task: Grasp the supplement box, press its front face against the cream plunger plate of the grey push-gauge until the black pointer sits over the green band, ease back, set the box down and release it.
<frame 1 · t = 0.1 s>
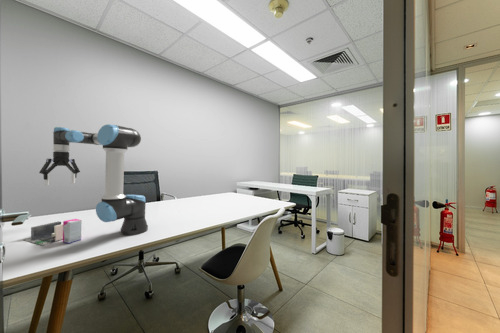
hand: (60, 183, 128), 28 cm above the table, fingers open, 13 cm apart
supplement box: (72, 241, 107), on the table
plunger: (54, 231, 108), point 5 cm above the table, slide at 0.0 cm
gauge base: (59, 237, 111), on the table
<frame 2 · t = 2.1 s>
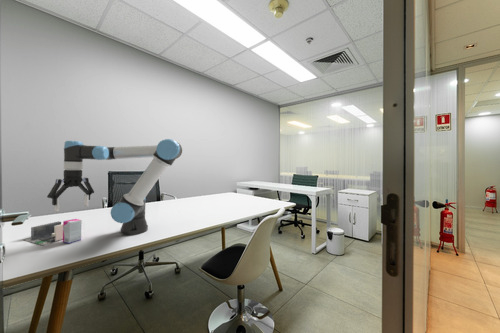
hand: (72, 208, 107), 18 cm above the table, fingers open, 13 cm apart
nothing on the table moved.
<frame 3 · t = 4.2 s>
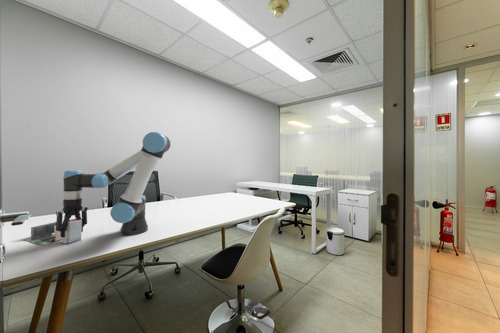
hand: (72, 240, 107), 0 cm above the table, fingers closed on supplement box, 6 cm apart
supplement box: (72, 241, 107), on the table, touching gripper
everything else where it was.
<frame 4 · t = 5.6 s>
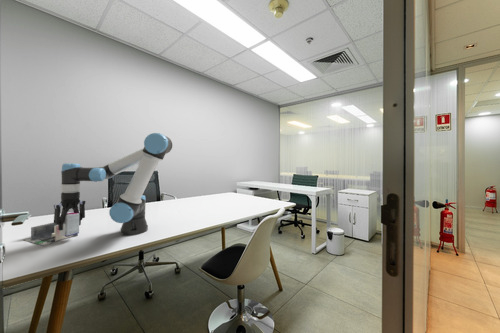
hand: (69, 233, 107), 4 cm above the table, fingers closed on supplement box, 6 cm apart
supplement box: (70, 234, 108), point 3 cm above the table, touching gripper
everything else where it was.
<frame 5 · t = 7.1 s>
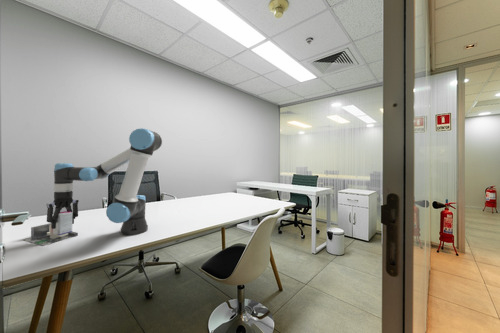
hand: (63, 232, 109), 4 cm above the table, fingers closed on supplement box, 6 cm apart
supplement box: (63, 233, 110), point 3 cm above the table, touching gripper
plunger: (49, 230, 109), point 5 cm above the table, slide at 4.4 cm
when the fingers open (2 cm above the table, at t = 9.1 s): supplement box drops 1 cm, on the table.
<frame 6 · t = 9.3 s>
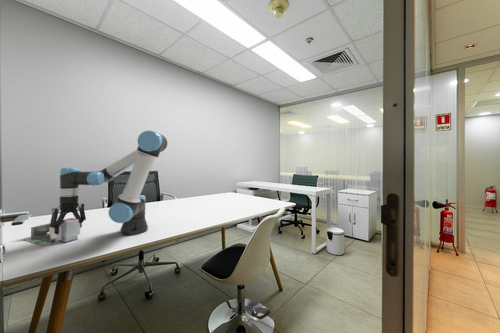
hand: (68, 236, 108), 2 cm above the table, fingers open, 8 cm apart
supplement box: (68, 240, 108), on the table
everything else where it was.
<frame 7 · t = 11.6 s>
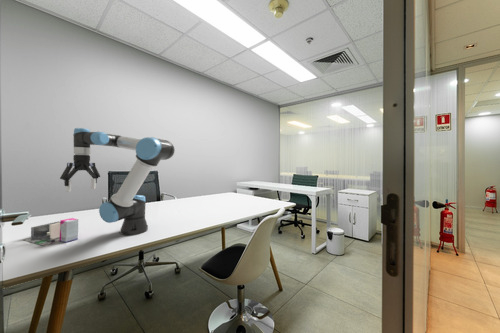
hand: (81, 190, 117), 26 cm above the table, fingers open, 13 cm apart
nothing on the table moved.
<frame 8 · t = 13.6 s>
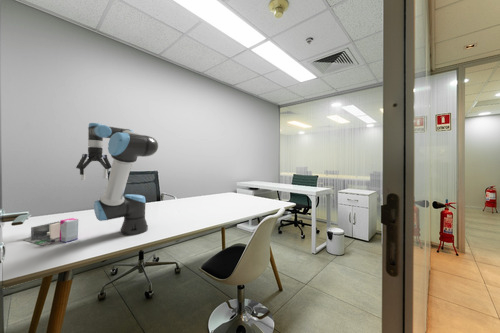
hand: (94, 179, 130), 32 cm above the table, fingers open, 13 cm apart
nothing on the table moved.
at the end: plunger slide at 4.4 cm; supplement box tilted 0°; the gripper is holding nothing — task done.
